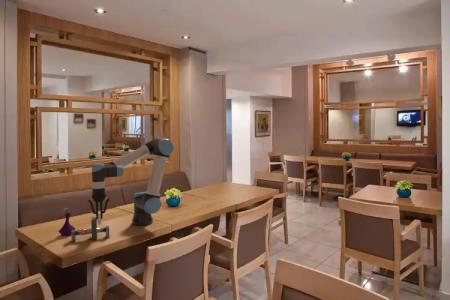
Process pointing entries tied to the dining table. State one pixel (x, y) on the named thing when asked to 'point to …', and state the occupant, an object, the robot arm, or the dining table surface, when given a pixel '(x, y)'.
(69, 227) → the perfume bottle
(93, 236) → the collar
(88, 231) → the pipe stand
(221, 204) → the dining table surface
